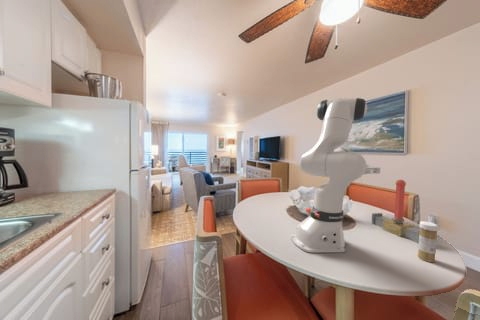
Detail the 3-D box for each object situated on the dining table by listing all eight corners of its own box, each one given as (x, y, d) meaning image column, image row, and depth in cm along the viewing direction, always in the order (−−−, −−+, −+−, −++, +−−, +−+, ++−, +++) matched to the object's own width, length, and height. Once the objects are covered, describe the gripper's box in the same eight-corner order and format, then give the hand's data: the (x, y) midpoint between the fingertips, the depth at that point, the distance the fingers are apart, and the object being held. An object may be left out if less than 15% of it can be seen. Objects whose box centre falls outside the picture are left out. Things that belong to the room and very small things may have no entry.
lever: (398, 223, 84) (401, 180, 83) (390, 220, 87) (393, 179, 86) (405, 222, 85) (408, 180, 84) (397, 219, 88) (400, 179, 87)
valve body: (418, 244, 75) (419, 232, 74) (369, 223, 96) (370, 213, 96) (432, 243, 76) (433, 230, 76) (381, 222, 98) (382, 212, 98)
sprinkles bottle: (428, 256, 67) (431, 221, 66) (439, 263, 62) (442, 226, 62) (414, 254, 68) (416, 220, 67) (423, 261, 63) (426, 225, 63)
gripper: (339, 164, 109) (359, 166, 95) (367, 163, 113) (389, 165, 99) (339, 174, 109) (359, 178, 95) (366, 173, 113) (389, 177, 100)
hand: (374, 171), depth 98 cm, fingers closed
